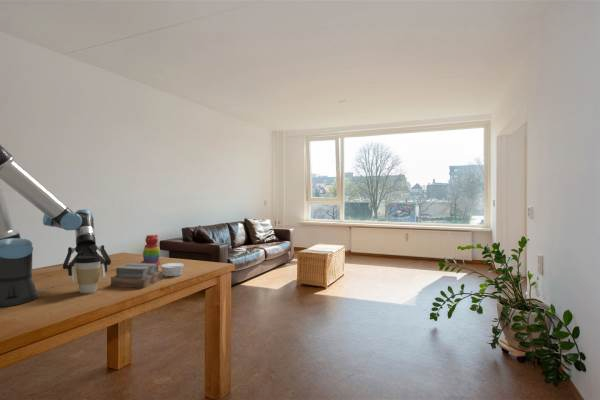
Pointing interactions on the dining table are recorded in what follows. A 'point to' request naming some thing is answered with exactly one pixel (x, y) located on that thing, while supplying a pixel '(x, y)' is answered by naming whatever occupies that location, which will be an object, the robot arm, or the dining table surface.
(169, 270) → the ramekin
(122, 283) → the grey stacked platform
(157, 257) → the stacking bear
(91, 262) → the coffee cup
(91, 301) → the dining table surface
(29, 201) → the robot arm
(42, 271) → the dining table surface
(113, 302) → the dining table surface
